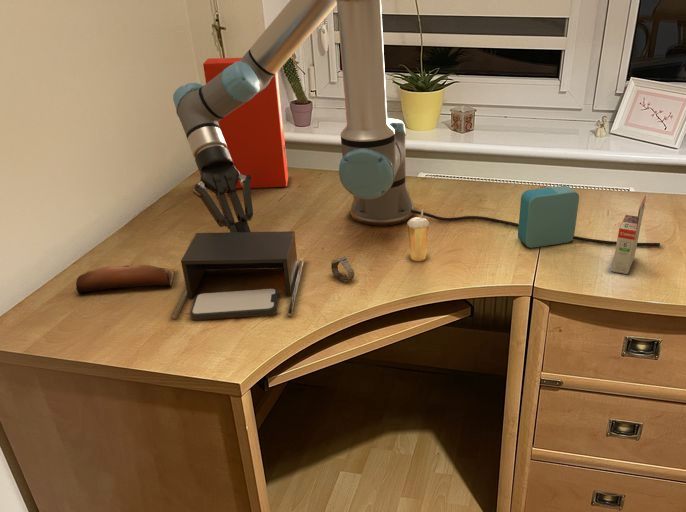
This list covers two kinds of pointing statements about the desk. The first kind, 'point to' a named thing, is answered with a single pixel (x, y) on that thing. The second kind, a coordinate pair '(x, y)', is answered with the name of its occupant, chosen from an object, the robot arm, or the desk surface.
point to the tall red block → (254, 132)
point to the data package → (548, 216)
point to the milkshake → (418, 237)
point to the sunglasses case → (124, 277)
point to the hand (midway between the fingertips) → (248, 251)
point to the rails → (290, 303)
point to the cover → (240, 254)
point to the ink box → (627, 241)
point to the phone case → (234, 304)
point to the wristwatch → (346, 265)
